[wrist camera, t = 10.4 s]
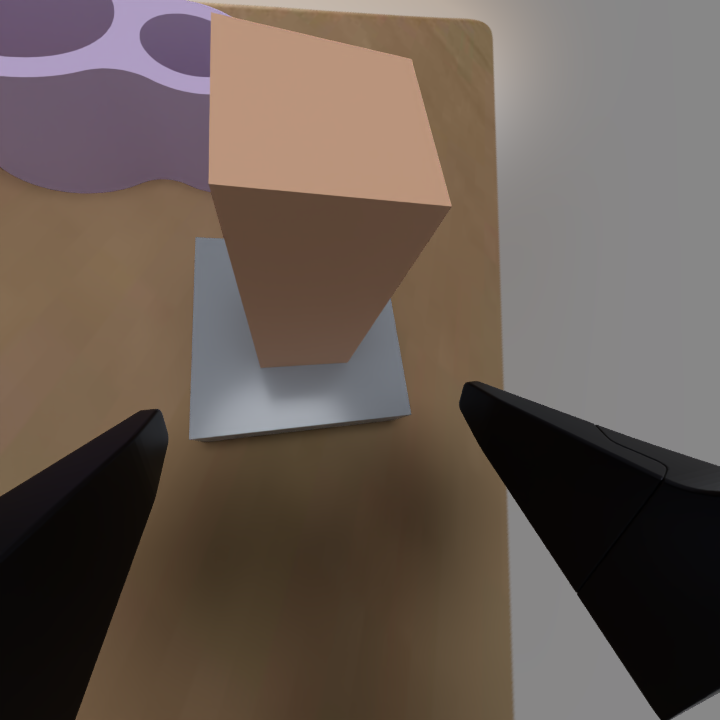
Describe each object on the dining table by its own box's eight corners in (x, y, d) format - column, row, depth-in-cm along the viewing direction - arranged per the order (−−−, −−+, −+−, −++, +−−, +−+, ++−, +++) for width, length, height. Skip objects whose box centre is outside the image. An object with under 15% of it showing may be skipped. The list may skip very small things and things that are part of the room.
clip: (269, 112, 27) (264, 4, 20) (257, 222, 23) (247, 132, 16) (-7, 47, 22) (-126, -119, 16) (-79, 171, 18) (-275, 19, 12)
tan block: (347, 362, 18) (451, 206, 7) (260, 367, 16) (208, 183, 5) (338, 289, 19) (411, 59, 8) (257, 289, 18) (211, 12, 7)
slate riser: (394, 419, 20) (411, 414, 18) (204, 442, 17) (189, 439, 14) (370, 271, 24) (381, 246, 21) (207, 266, 21) (195, 237, 18)
